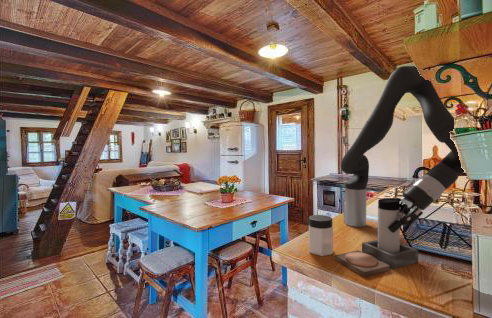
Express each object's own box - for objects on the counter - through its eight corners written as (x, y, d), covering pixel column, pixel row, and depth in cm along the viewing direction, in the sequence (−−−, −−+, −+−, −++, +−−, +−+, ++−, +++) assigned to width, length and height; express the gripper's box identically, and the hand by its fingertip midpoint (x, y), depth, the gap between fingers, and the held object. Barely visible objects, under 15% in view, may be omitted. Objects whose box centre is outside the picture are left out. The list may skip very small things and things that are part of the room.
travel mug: (403, 263, 78) (404, 200, 77) (381, 261, 80) (381, 199, 79) (396, 254, 84) (396, 196, 83) (375, 253, 86) (375, 196, 85)
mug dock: (334, 259, 82) (334, 247, 81) (385, 248, 90) (385, 237, 89) (364, 277, 70) (364, 263, 70) (418, 262, 78) (419, 250, 78)
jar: (323, 245, 94) (323, 213, 93) (338, 253, 86) (338, 219, 86) (303, 248, 91) (303, 216, 90) (316, 257, 83) (316, 222, 83)
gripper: (404, 180, 87) (368, 212, 89) (426, 187, 73) (384, 224, 75) (420, 196, 86) (384, 227, 88) (446, 205, 72) (403, 242, 74)
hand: (384, 226), depth 82 cm, fingers open, 8 cm apart
